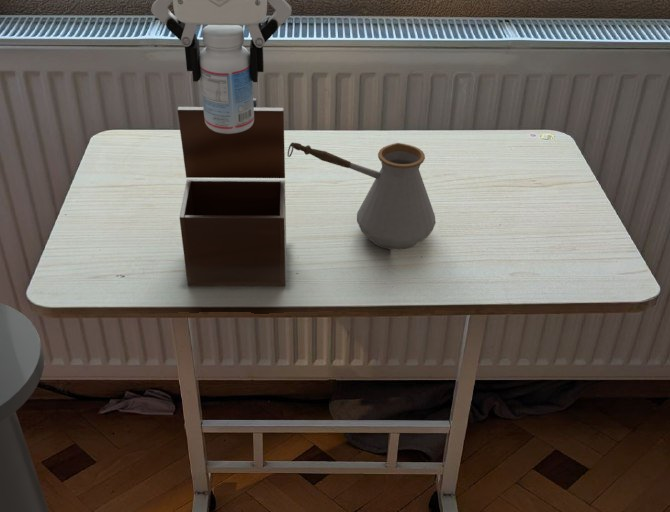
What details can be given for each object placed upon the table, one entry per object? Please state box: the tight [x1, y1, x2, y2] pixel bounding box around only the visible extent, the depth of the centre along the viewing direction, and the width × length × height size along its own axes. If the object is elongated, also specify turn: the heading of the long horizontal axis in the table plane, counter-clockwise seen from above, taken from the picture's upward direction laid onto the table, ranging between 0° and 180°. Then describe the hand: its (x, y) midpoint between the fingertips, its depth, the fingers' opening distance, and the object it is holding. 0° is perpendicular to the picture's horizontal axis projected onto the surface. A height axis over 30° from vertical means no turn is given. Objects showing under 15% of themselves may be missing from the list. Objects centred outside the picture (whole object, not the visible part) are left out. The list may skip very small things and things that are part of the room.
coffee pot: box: [287, 142, 437, 251], centre depth 117 cm, size 21×12×15 cm, turn 96°
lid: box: [177, 97, 286, 179], centre depth 109 cm, size 10×13×5 cm
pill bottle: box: [199, 25, 254, 134], centre depth 98 cm, size 6×6×11 cm
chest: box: [179, 178, 287, 287], centre depth 112 cm, size 10×13×11 cm
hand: (226, 75), depth 97 cm, fingers closed on pill bottle, 6 cm apart
